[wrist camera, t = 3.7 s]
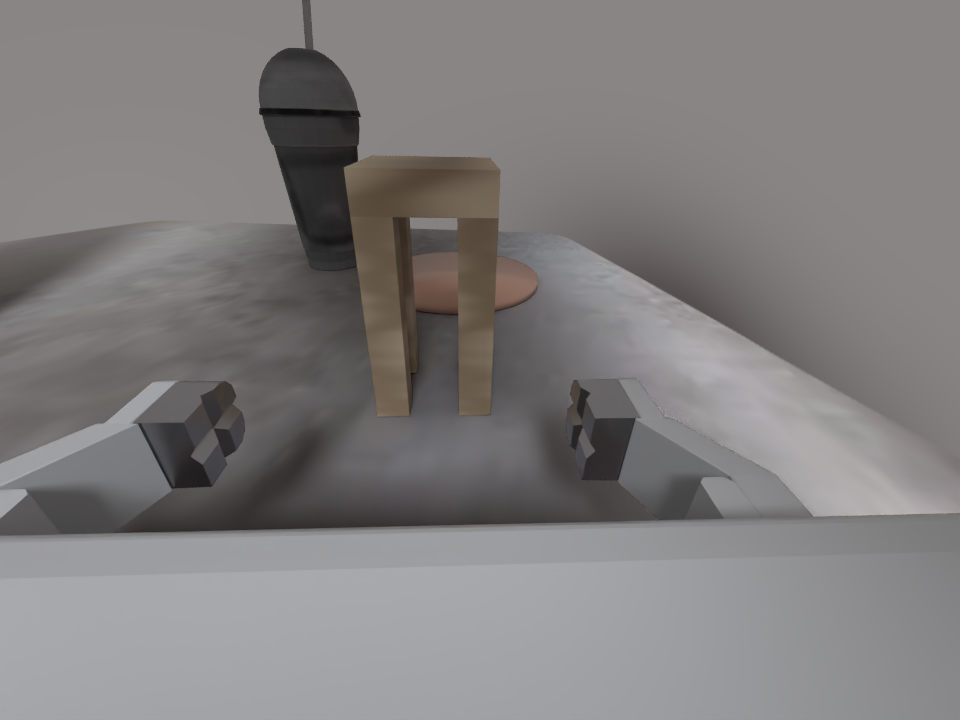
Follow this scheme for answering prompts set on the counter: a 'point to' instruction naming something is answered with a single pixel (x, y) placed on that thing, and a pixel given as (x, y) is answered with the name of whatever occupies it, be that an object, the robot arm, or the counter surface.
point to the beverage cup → (313, 145)
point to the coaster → (441, 282)
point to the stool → (389, 270)
